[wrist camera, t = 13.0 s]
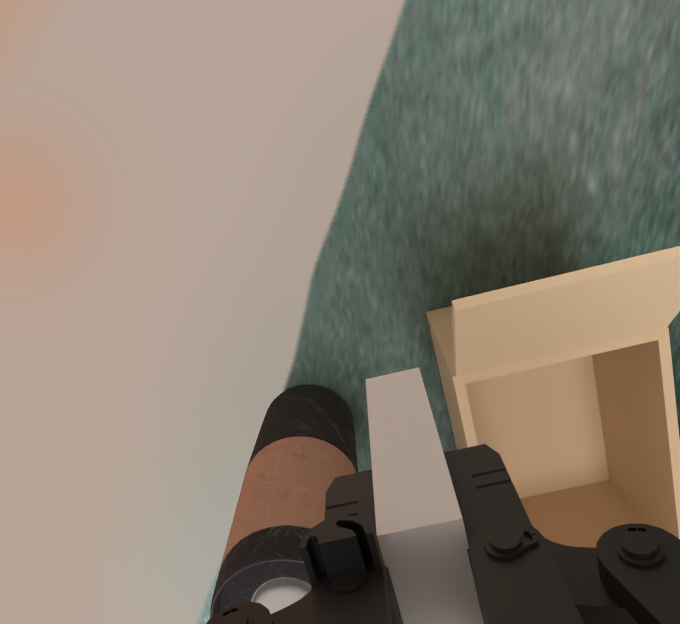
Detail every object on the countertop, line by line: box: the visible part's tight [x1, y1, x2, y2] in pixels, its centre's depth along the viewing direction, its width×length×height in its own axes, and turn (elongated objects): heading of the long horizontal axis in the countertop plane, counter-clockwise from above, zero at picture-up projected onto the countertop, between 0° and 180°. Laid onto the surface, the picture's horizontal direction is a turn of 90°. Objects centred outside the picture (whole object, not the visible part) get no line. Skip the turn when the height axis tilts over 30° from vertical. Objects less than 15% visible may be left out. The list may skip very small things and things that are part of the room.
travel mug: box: [210, 385, 358, 619], centre depth 39 cm, size 8×8×20 cm
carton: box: [426, 306, 680, 548], centre depth 42 cm, size 18×12×12 cm, turn 14°
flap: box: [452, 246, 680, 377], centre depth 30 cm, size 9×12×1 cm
